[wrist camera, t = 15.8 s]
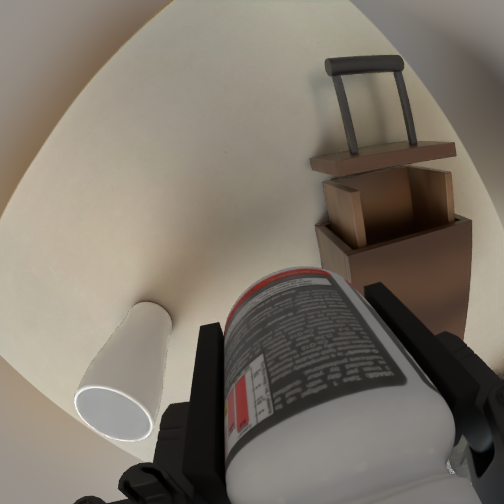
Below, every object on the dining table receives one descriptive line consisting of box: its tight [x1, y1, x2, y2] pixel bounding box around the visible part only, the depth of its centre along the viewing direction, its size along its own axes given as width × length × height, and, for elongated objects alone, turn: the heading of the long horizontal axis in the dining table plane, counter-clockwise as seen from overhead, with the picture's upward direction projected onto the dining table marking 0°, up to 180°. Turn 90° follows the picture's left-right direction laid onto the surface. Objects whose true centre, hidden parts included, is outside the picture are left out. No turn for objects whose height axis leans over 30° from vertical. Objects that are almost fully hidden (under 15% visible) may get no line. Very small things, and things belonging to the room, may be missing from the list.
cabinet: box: [315, 214, 472, 341], centre depth 29 cm, size 15×13×10 cm
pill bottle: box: [224, 267, 482, 504], centre depth 8 cm, size 6×6×10 cm
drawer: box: [310, 55, 456, 250], centre depth 25 cm, size 22×11×8 cm, turn 14°
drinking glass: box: [74, 302, 172, 442], centre depth 27 cm, size 7×7×15 cm
